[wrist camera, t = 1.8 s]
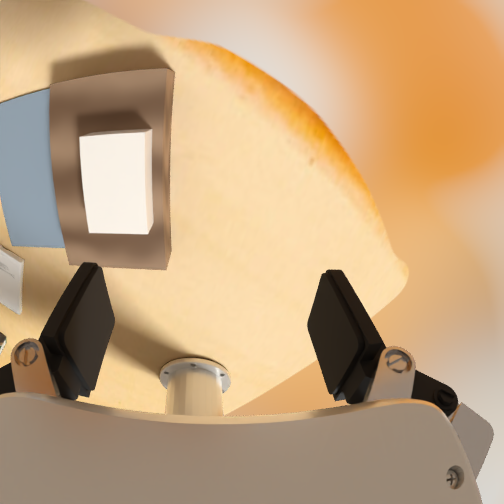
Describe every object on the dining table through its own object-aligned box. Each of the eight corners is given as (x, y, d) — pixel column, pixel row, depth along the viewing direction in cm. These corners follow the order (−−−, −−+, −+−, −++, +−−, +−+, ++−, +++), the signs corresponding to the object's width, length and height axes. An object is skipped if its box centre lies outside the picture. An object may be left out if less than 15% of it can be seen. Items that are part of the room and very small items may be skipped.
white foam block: (153, 222, 26) (147, 234, 24) (98, 221, 25) (89, 232, 23) (152, 128, 21) (144, 132, 19) (91, 132, 20) (79, 137, 18)
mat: (82, 247, 30) (81, 248, 30) (13, 244, 29) (12, 245, 28) (69, 84, 20) (67, 84, 20) (-7, 106, 19) (-8, 106, 18)
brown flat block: (171, 250, 32) (166, 270, 29) (82, 247, 30) (69, 264, 27) (175, 72, 22) (167, 68, 19) (69, 84, 20) (50, 84, 17)
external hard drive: (-9, 288, 32) (-10, 234, 28) (23, 309, 35) (26, 257, 31) (-13, 293, 31) (-15, 239, 26) (19, 315, 34) (21, 264, 29)
